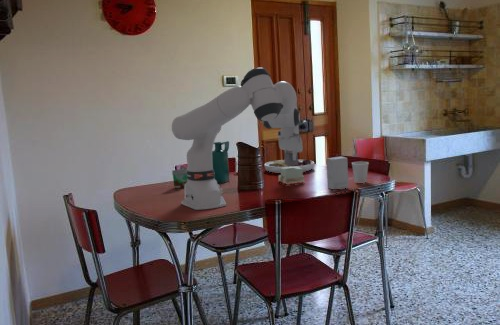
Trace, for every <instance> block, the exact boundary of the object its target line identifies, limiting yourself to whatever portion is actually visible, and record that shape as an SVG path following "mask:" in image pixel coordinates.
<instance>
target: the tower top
mask: <svg viewBox="0 0 500 325" xmlns="http://www.w3.org/2000/svg"><path fill="white" fill-rule="evenodd" d="M280 171H281V174H280V175H281V176H283V177H285V178H293V177H303V176H304V175H303V174H304V173H303V170H302V168H299V167H297V166H296V167H285V168H280Z"/></svg>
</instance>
